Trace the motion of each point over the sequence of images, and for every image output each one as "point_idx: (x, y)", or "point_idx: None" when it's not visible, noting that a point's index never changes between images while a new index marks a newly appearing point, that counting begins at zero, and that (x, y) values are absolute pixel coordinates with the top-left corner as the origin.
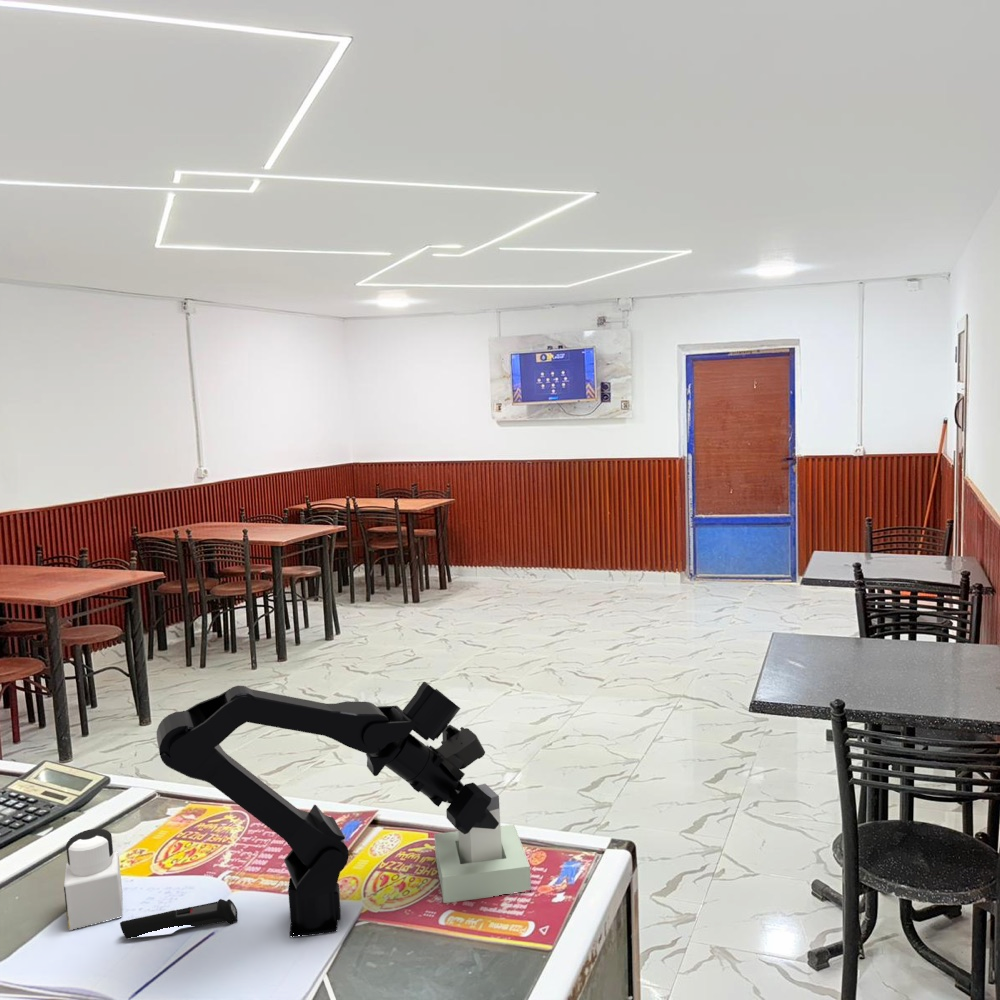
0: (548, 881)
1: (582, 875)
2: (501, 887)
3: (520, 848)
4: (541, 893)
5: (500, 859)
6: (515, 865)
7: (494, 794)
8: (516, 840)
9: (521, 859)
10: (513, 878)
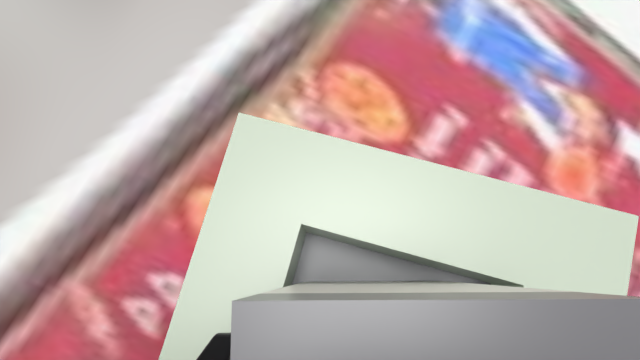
0: (533, 141)
1: (547, 21)
2: None
3: (465, 184)
4: (598, 199)
5: None
6: (606, 275)
7: (599, 332)
8: (384, 168)
9: (564, 225)
10: None
